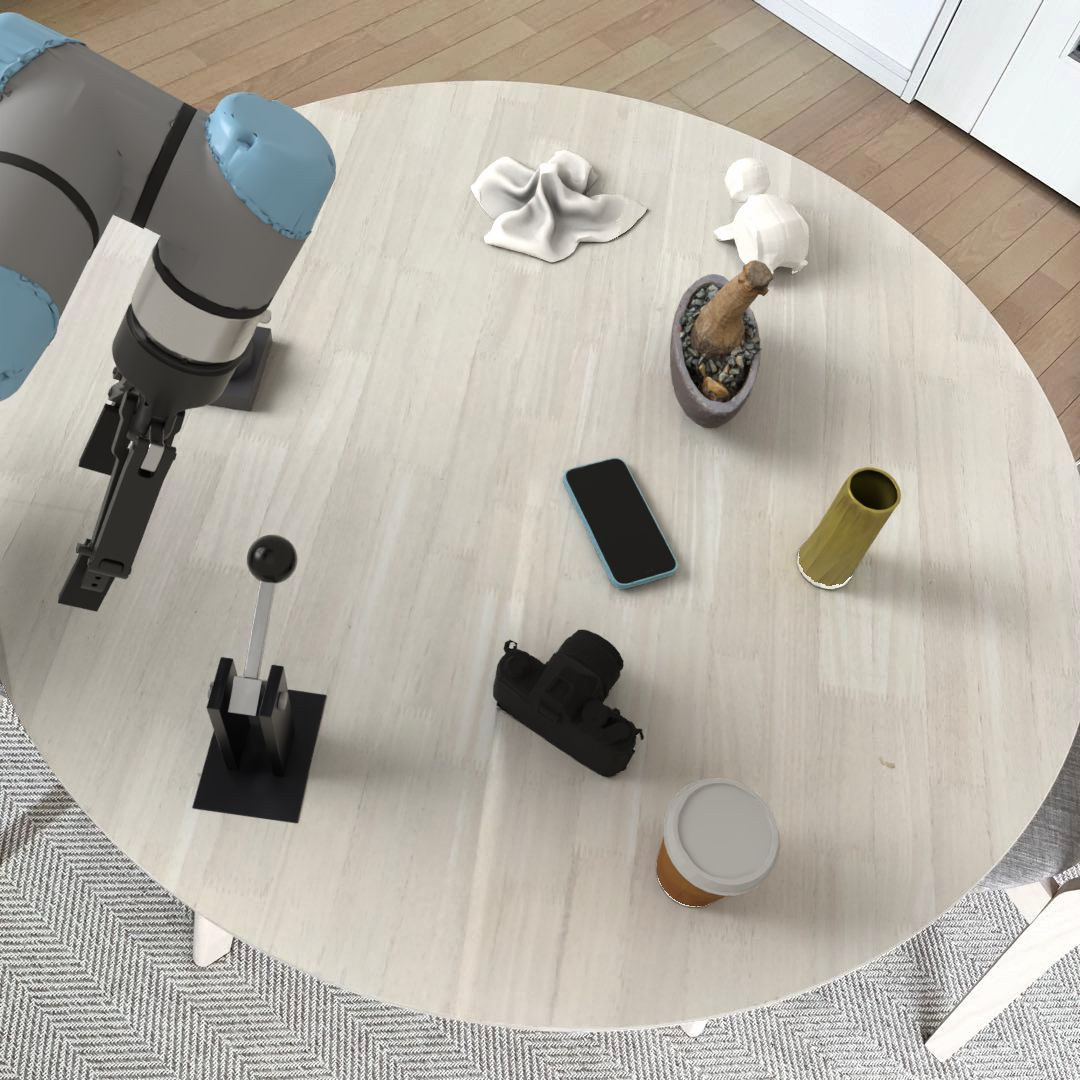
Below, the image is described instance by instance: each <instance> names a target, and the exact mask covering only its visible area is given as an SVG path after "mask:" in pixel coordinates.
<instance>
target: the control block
mask: <svg viewBox="0 0 1080 1080" xmlns="http://www.w3.org/2000/svg"><path fill="white" fill-rule="evenodd" d="M272 345H273V334H272V329H271V327H265V326H259V325H257V327H256V329H255V332H254V334H253V336H252V338H251V340H250V341H249V343H248V345H247V347H246V349H245V351H244V352H243V353H242V354H241V359H240V362H239V364H238V365H237V367H236V369H235V371H234V373H233V375H232V377H231V378H230V380H229V382H228V384H227V386H226V388H225V390H224V391H223V393H222V395H221V396H220V397H219V398H218V399H217V400H216V401H214V402H213V403H211V404H209V405H208V406H212V407H215V408H216V407H218V408H223V409H231V410H236V411H242V412H248V413H251V412H252V409H253V407H254V404H255V400H256V397H257V394H258V390H259V387H260V383H261V380H262V377H263V374H264V371H265V367H266V364H267V362H268V358H269V355H270V352H271V351H270V350H271V348H272Z"/></svg>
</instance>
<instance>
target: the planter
mask: <svg viewBox="0 0 1080 1080" xmlns="http://www.w3.org/2000/svg"><path fill="white" fill-rule="evenodd" d="M773 280H775V278H774V274H773V275H772V273H771V271H770V269H769V268H768V267H767V265H766V264H764V263H762V262H759V261H757V260H753V261H750V262H749V263H747V264H744V265H743V269H742V271H740V272H739V273H737V274H736V275H735V276H734V277H732V279H730V280H728V279H727V278H726V277H725V276H724V275H720V274H717V273H710V274H706V275H704V276H702V277H700V278H699V279H697V280H695V281H694V283H693V284H692V285H690V286H689V287H688V288H687V289H686V291H684V293H683V295H682V296H681V299H680V300H679V303H678V306H677V307H676V310H675V313H674V317H673V322H672V326H671V327H672V328H671V334H670V335H671V336H670V349H669V364H670V376H671V378H670V379H671V383H672V388H673V392H674V395H675V398H676V400H677V402H678V404H679V406H680V407H681V409H682V411H683V412H684V414H685V415H686V416H687V417H688V419H690V420H691V421H692V422H693V423H695V424H697V425H698V426H701V427H702V428H704V429H708V430H713V429H717V428H719V427H722V426H725V424H727V423H729V422H730V421H732V419H734V418H735V417H736V416H737V415H738V414H739V413H740V412H741V410H742V408H743V407H744V406H745V405H746V403H747V401H748V399H749V397H750V395H751V393H752V391H753V389H754V386H755V383H756V380H757V377H758V373H759V370H760V362H761V350H762V347H761V337H760V331H759V324H758V321H757V319H756V317H755V314H754V311H753V310H752V309H751V307H750V306H751V305H752V304H753V302H754V301H755V300H756V298H758V296H759V295H760V296H762V297H765V296H766V295H767V294H768V292H769V291H770V290H769V288H768V287H769V285H770V284H771V282H772V281H773ZM695 383H698V384H697V385H696V384H695Z"/></svg>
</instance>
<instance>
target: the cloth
mask: <svg viewBox="0 0 1080 1080" xmlns="http://www.w3.org/2000/svg"><path fill="white" fill-rule="evenodd" d="M597 179H598V175H597V173H595V171H594V168H593V165H592V163H591V162H590V161H589V160H588V159H587V158H586V157H584V156H581V155H579V154H577V153H575V152H573V151H570V150H568V149H561V150H556V151H555V152H554V155H553V156H552V157H551V159H549V160H548V161H547V162H543V163H540V164H539V166H538V168H537V169H536V170H534V169H533V168H532V167H531V166H529V165H528V164H526V163H525V162H523V161H521V160H520V159H516V158H513V157H511V156H502V157H499V158H498V159H497V160H495V161H494V162H491V164H490V165H488V166H487V167H486V168H485V169H484V170H483V171H482V172H481V174H480V175H479V177H478V178H477V179H476V181H475V182H474V183H473V184H471V185H470V190H471V192H472V194H473V195H474V197H475V199H476V200H477V202H478V204H479V205H480V207H481V208H482V209H483V210H484V213H486V214H487V215H488V216H489V218H491V220H493V224H492V227H491V230H490V231H488V233H487V234H485V235H484V236H483V241H484V243H485V244H486V245H491V246H494V247H498V248H503V249H507V250H511V251H514V252H518V253H523V254H525V255H527V256H531V257H535V258H538V259H541V260H544V261H545V262H548V263H555V262H558V261H562V260H564V259H566V258H568V257H570V256H571V255H572V254H573V253H575V251H576V249H577V247H578V245H579V244H580V243H581V242H582V243H583V242H590V243H592V242H593V243H607V242H610V240H611V241H613V240H615V239H617V238H619V237H618V235H619V233H618V232H620V230H621V228H620V227H621V225H619V226H618V225H617V224H616V223H618V222H617V221H616V220H618V218H620V216H621V213H623V211H624V208H625V210H626V209H627V206H628V204H629V202H627V201H628V200H627V199H628V198H629V197H628V198H627V199H626V200H625V199H624V197H623V196H622V194H619V195H618V194H610V193H602V194H596V195H592V196H589V195H588V194H587V192H588V191H589V190H590V189H591V187H592V186H593V185H594V184H595V183H596V181H597ZM592 184H593V185H592ZM588 189H589V190H588ZM624 200H625V201H624ZM628 207H629V206H628ZM618 221H619V220H618ZM621 221H622V220H621ZM612 222H613V223H612ZM622 222H623V221H622ZM621 224H622V223H621ZM622 225H623V224H622ZM616 226H617V227H616ZM620 233H621V232H620ZM616 237H617V238H616ZM614 238H615V239H614ZM612 239H613V240H612Z"/></svg>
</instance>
